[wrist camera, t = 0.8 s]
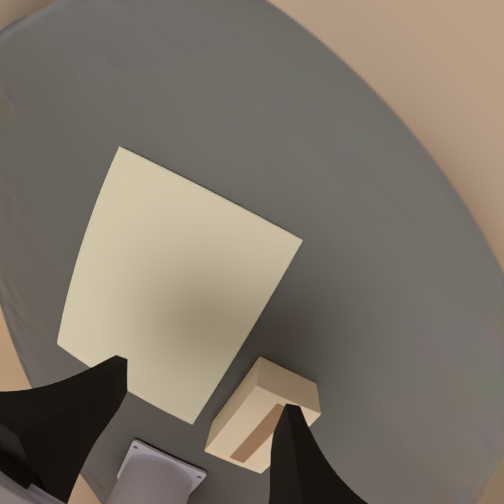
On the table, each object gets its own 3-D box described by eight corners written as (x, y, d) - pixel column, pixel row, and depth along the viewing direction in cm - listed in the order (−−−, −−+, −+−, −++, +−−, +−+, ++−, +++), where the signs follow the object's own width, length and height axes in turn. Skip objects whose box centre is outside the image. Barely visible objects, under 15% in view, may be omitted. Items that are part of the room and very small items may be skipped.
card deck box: (263, 441, 24) (260, 474, 20) (213, 419, 24) (204, 451, 20) (315, 381, 23) (321, 414, 19) (259, 354, 23) (256, 386, 19)
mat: (193, 421, 24) (192, 424, 24) (59, 341, 24) (56, 343, 23) (302, 239, 20) (302, 240, 20) (122, 147, 20) (119, 146, 20)
